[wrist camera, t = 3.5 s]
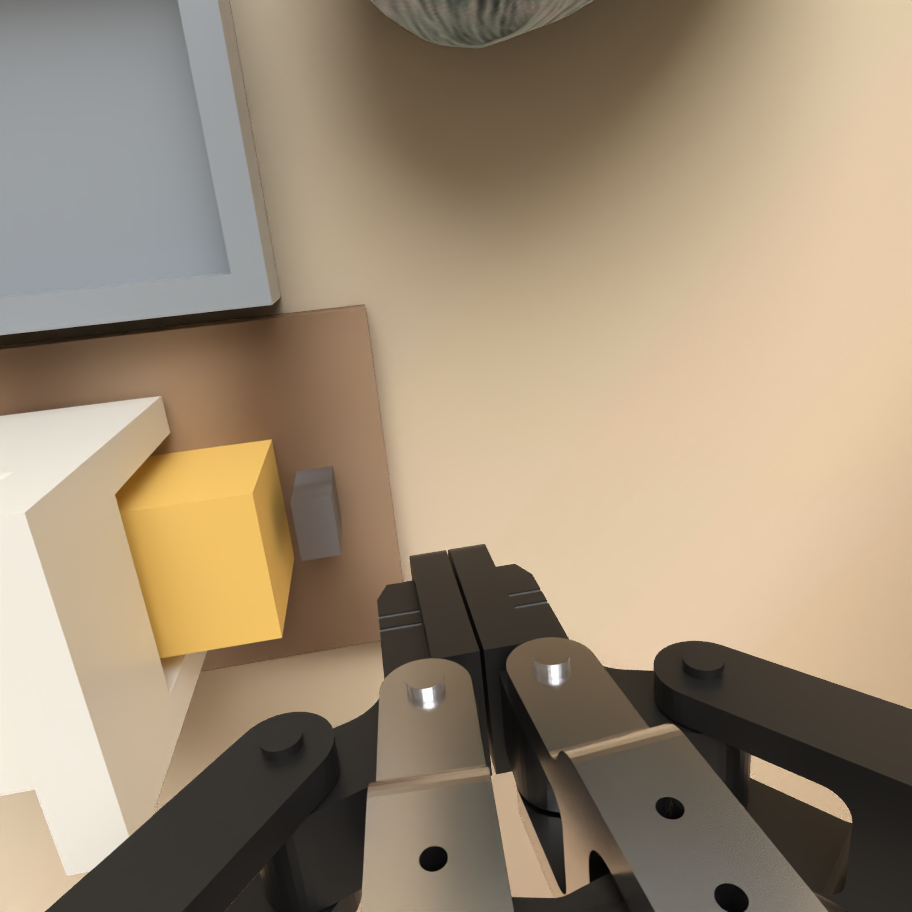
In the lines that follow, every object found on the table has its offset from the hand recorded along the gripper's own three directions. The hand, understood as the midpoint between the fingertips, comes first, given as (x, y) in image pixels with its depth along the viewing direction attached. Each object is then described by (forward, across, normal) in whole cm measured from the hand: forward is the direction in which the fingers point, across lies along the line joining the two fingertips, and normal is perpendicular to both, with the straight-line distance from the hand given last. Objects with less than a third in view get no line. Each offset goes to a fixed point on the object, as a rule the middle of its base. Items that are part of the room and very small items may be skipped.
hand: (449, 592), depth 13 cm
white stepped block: (+6, +8, 0) cm, 10 cm away
